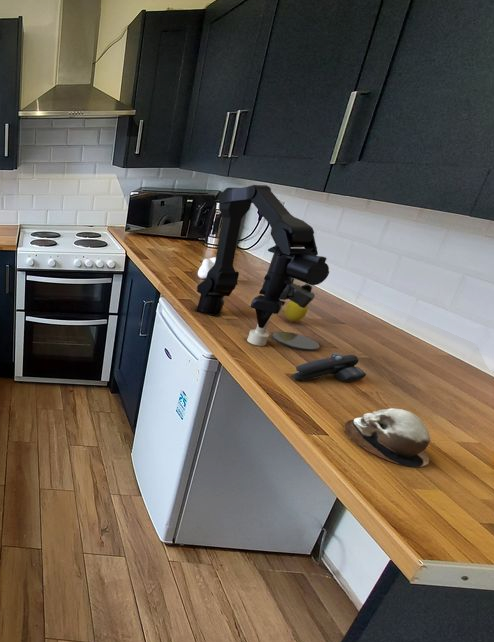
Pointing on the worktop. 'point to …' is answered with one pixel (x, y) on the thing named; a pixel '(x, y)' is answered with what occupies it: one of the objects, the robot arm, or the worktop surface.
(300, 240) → the robot arm
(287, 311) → the lemon
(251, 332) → the pestle
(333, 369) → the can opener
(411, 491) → the worktop surface
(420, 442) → the skull
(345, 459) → the worktop surface
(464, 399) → the worktop surface
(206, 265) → the white rounded lump
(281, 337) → the coaster
